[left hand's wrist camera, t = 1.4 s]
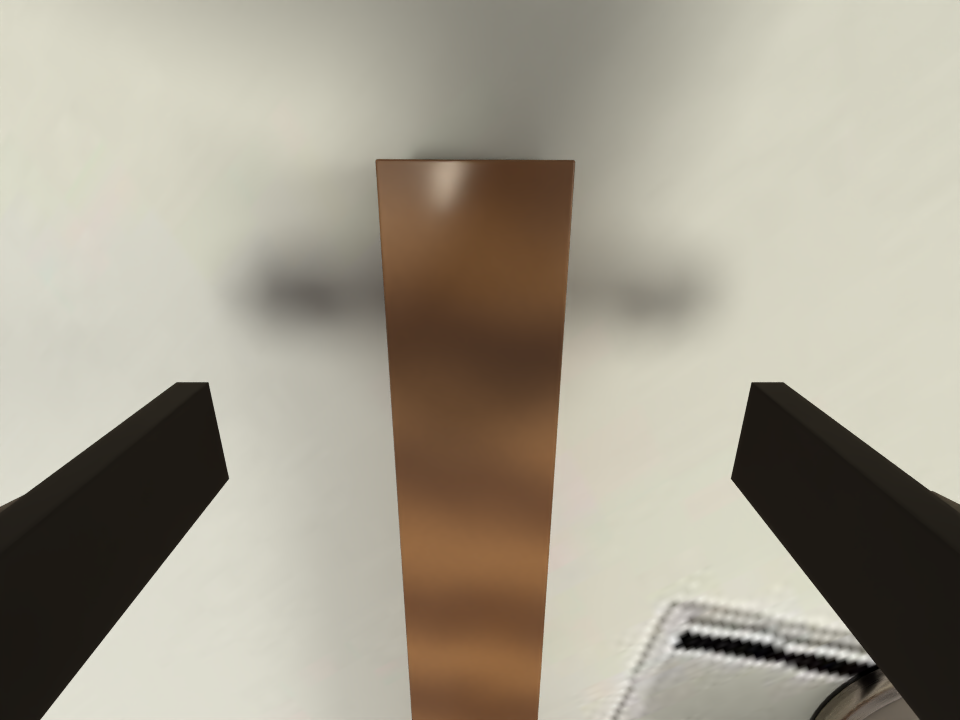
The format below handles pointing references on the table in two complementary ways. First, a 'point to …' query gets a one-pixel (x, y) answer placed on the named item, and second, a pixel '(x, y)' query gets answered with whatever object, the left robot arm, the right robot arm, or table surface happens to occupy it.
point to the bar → (475, 418)
